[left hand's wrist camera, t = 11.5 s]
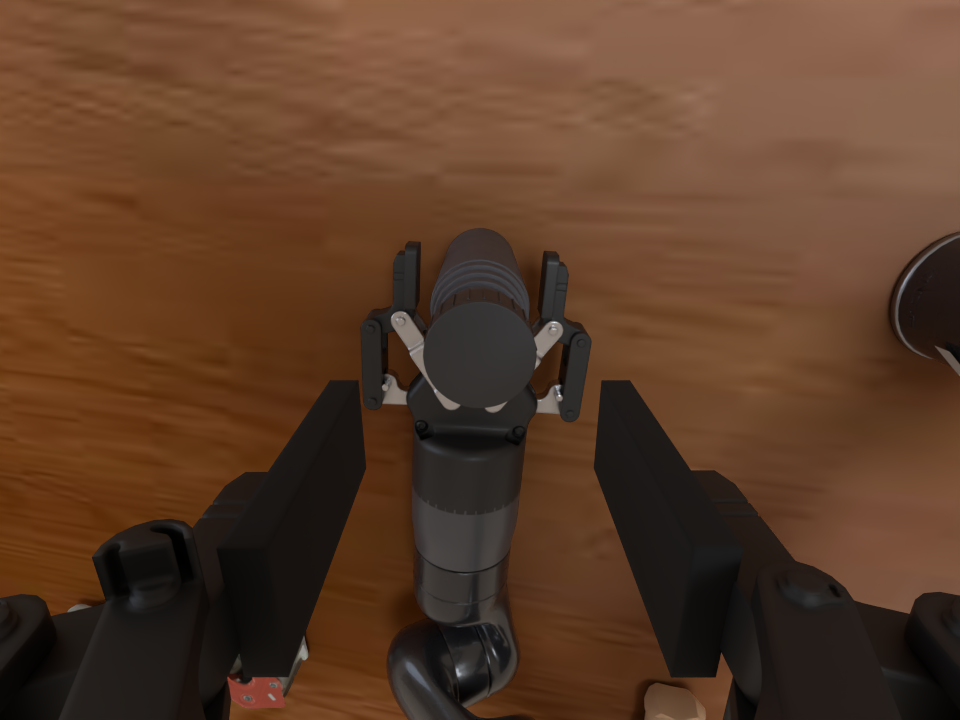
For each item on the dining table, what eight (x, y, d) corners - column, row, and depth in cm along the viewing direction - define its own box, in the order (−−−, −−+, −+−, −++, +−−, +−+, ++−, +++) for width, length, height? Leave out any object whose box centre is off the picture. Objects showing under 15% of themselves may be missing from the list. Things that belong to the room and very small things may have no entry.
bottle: (492, 309, 38) (503, 431, 21) (433, 276, 38) (393, 376, 20) (527, 250, 37) (569, 329, 20) (466, 214, 36) (453, 265, 19)
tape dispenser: (85, 599, 50) (269, 700, 53) (37, 647, 45) (242, 756, 48) (156, 475, 44) (358, 596, 47) (109, 515, 39) (338, 648, 42)
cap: (499, 404, 23) (501, 427, 21) (408, 357, 22) (401, 377, 20) (553, 319, 21) (560, 336, 19) (458, 267, 21) (456, 278, 19)
